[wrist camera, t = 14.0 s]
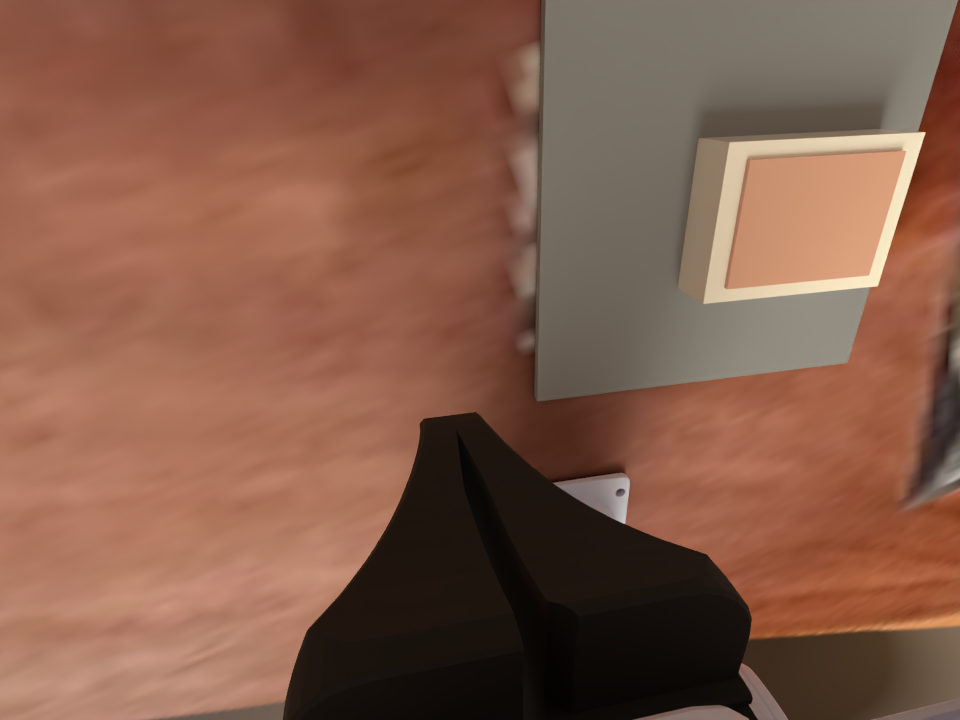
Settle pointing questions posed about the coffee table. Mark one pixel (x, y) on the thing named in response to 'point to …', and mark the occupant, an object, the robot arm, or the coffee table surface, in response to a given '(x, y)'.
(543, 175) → the mat
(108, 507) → the coffee table surface
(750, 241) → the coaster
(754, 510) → the coffee table surface
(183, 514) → the coffee table surface
